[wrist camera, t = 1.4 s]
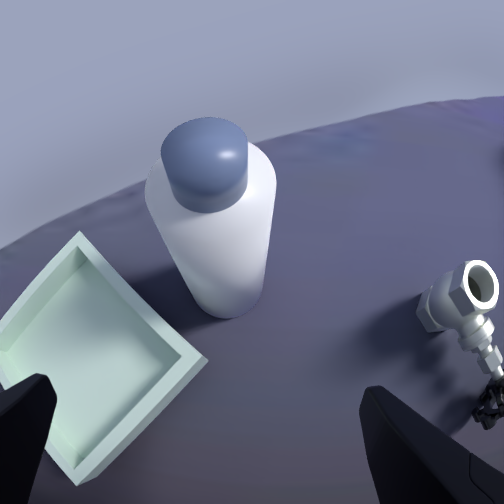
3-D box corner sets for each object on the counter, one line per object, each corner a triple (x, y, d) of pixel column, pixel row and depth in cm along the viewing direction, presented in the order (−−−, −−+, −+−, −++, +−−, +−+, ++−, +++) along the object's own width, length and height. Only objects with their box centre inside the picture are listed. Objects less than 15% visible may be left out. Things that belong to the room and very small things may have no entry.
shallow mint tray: (105, 472, 17) (76, 486, 13) (15, 356, 20) (-19, 346, 16) (211, 362, 21) (202, 355, 17) (103, 257, 24) (79, 230, 20)
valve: (392, 312, 22) (461, 429, 18) (436, 284, 16) (515, 430, 12) (443, 271, 24) (504, 378, 19) (487, 236, 18) (556, 365, 13)
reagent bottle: (230, 333, 22) (204, 241, 9) (176, 286, 23) (103, 158, 10) (277, 279, 23) (310, 140, 11) (224, 238, 25) (205, 85, 12)
